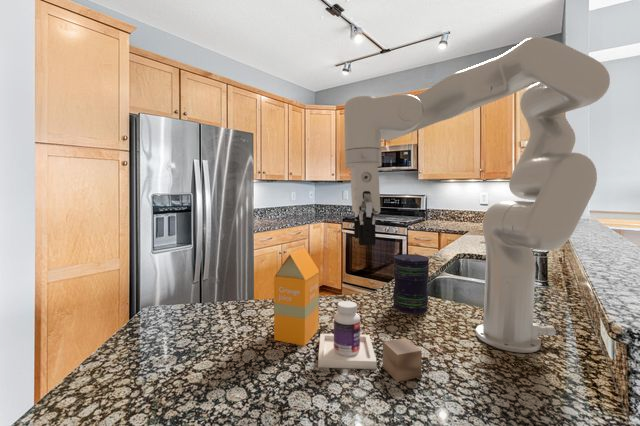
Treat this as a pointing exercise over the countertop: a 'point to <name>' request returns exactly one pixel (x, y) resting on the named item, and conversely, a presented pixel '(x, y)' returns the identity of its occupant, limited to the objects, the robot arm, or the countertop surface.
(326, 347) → the tray
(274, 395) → the countertop surface
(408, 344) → the walnut block
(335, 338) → the pill bottle
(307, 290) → the orange juice
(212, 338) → the countertop surface
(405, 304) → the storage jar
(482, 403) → the countertop surface
